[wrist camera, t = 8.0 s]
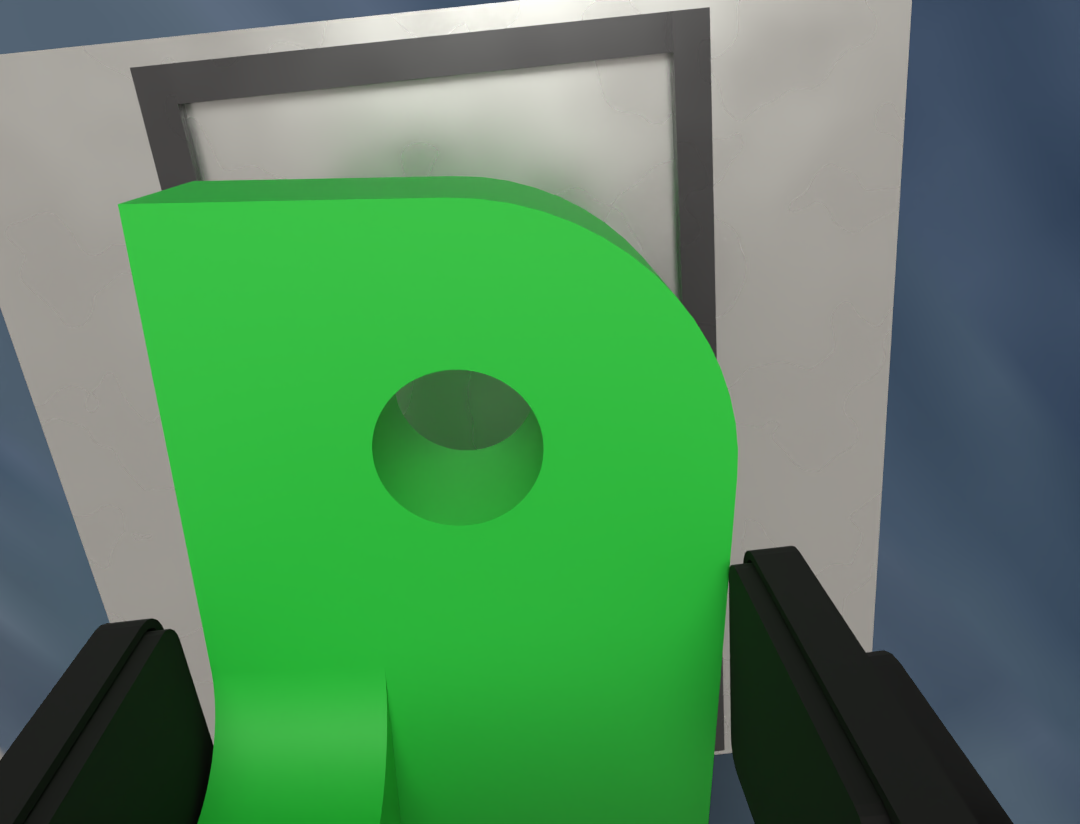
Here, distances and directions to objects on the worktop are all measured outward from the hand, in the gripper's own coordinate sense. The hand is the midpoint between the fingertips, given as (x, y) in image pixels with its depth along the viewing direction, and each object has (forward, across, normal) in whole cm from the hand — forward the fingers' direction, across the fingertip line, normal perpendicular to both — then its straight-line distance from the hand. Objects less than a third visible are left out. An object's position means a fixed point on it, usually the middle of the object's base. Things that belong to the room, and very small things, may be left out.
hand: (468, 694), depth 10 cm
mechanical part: (+2, 0, 0) cm, 2 cm away
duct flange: (+8, 0, 0) cm, 8 cm away
